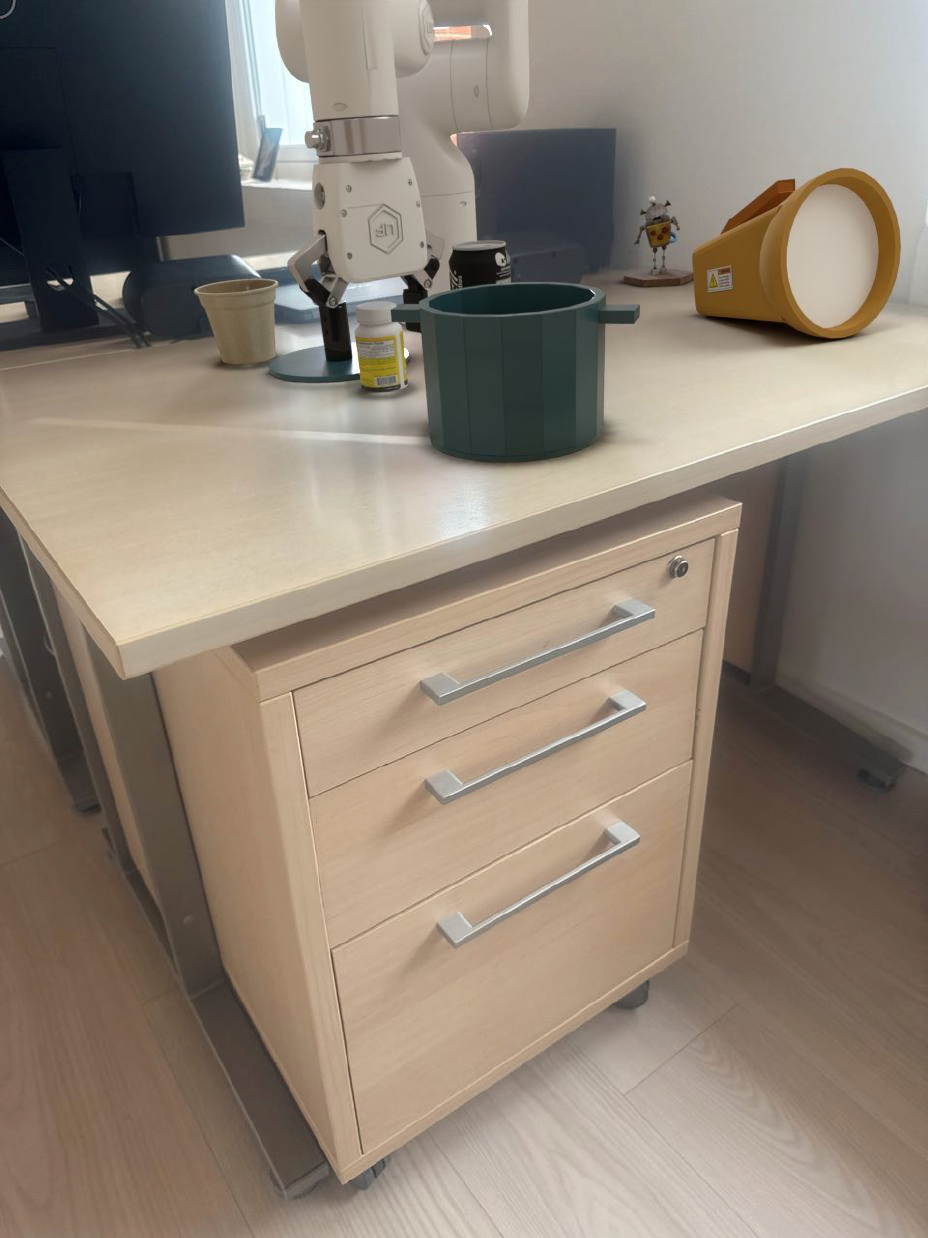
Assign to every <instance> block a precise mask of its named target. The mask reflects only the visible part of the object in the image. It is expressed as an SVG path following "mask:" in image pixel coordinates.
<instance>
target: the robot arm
mask: <svg viewBox="0 0 928 1238" xmlns="http://www.w3.org/2000/svg"><path fill="white" fill-rule="evenodd" d="M274 22H275V23H274V24H275V37H276V42H277V47H278V52H279V55H280V58H281V60H282V62H283V64H284V67H285V68H286V69H287V71H288V72H289V74H290V75H291V76H293V78H295V79H296V80H298V81H299V82H302V83H305V84H308V86H309V95H310V102H311V103H310V104H311V111H312V117H313V122H312V127H313V129H312V130H306V131H305V133H304V144H305V146H306V148H307V149H314V150H315V152H316V156H317V157H318V163H313V168H312V182H311V215H312V216H311V218H312V219H311V220H312V235H313V237H312V239H310V240H309V241H308V242H307V243H306V244H304V246H302V247H301V248H300V249H299V250H298V251H297V252H295V253H294V255H292V256H291V257H289V259H288V260H287V268H288V270H289V272H290V273H291V275H292V276H293V278H294V280H295V282H296V283H298V287H299V289H300V291H301V292H302V293H303V294H304V295H306V296H307V297H308V298H309V299H310V300H311V301H312V304H313V305H314V306H317V307H318V312H319V311H320V313H319V319H320V318H321V321H320V327H321V326H322V328H321V335H322V334H323V335H322V339H323V338H324V340H325V342H326V346H327V348H328V349H332V350H337V351H341V352H344V351H348V350H349V348H350V344H349V336H348V327H347V319H346V311H345V308H344V307H341V306H339V302H340V300H342V298H343V296H344V294H345V292H346V290H347V288H348V286H349V284H364V283H370V282H371V283H372V282H376V281H383V280H388V279H393V278H398V277H399V278H400V279H401V280H402V281H403V282H404V284H405V285H406V286H407V288H403V289H402V291H403V292H402V301H403V304H419V301H421V300H423V299H425V298H427V297H429V296H431V295H433V294H437V293H441V292H445V291H449V290H450V276H449V259H450V257H451V254H452V252H453V249H452V245H454V244H457V243H462V242H470V241H478V231H477V211H476V192H475V191H476V190H475V189H476V186H475V176H474V172H473V169H472V166H471V163H470V162H469V160H468V159H467V158H466V156H465V155H464V154H463V152H462V151H461V150H460V149H459V148H458V146H457V145H456V143H455V142H454V141H453V140H452V137H451V136H453V135H458V134H463V133H475V132H489V131H490V132H492V131H501V130H509V129H513V128H516V127H517V126H520V124H521V123H522V122H523V121H525V118H526V116H527V113H528V109H529V104H530V103H529V102H530V34H529V33H530V32H529V29H530V28H529V27H530V26H529V25H530V24H529V0H275V1H274ZM473 26H483V27H486V29H488V31H489V36H483V37H472V38H459V39H455V38H454V39H442V40H441V39H440V40H435V39H436V38H435V37H436V29H438V30H439V29H449V28H450V29H451V28H461V27H473ZM315 262H316V265H317V270H318V273H319V275H320V277H321V278H320V280H317V279H315V277H314V274H313V272H312V269H311V268H312V265H313V264H314V263H315ZM399 324H401V325H402V324H403V325H404V326H405V329H406V330H407V331H408V332H412V333H419V334H421V324H420V322H399Z"/></svg>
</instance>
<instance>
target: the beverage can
mask: <svg viewBox="0 0 928 1238" xmlns="http://www.w3.org/2000/svg"><path fill="white" fill-rule="evenodd" d="M506 245H507V243H506V241H504V240H498V239H497V240H494V239H493V240H491V239H487V240H484V239H483V240H477V241H470V242H462V243H457V244H454V245H452V249H453V252H452V254H451V257H450V259H449V276H450V290H453V289H459V288H466V287H473V286H480V285H488V284H502V283H512V272H511V269H512V268H511V256H510V254H509V253H508V251H507V248H506Z"/></svg>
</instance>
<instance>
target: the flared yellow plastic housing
mask: <svg viewBox="0 0 928 1238" xmlns="http://www.w3.org/2000/svg"><path fill="white" fill-rule="evenodd" d="M897 215H898V214H897V213H896V210H895V206H894V205H893V201H892V200H891V198H890V197H889V195H888V193H887V192H886V190H885V188H884V187H883V186H882V185H881V184H880V183H879V181H877V179H875V178H874V177H872V176H871V175H869V174H868V173H866V172H865V171H861V170H859V169H856V168H851V167H850V168H849V167H839V168H835V169H831V170H828V171H825V172H823V173H821V174H818V175H816V176H815V177H813V178H811V179H809V180H807V181H806V182H805V183H803V184H802V185H800V186H799V187H798V188H797V189H796V178H788V179H779V180H776V181H775V182H774V183H772V184H771V185H770V186H769V187H768V188H766V189H765V190H764V191H762V193H760V194H759V195H758V196H756V198H754V199H753V200H752V201H750V202H749V203H748V204H747V205H745V207H743V208H742V209H741V210H739V212H737V213H735V214H734V215H733V216H732V217H730V218H728V220H727V221H726V223H725V225H724V227H723V229H722V230H721V232H720V233H719V235H717V236H715V237H713V238H711V239H708V240H706V241H705V242H703V243H701V244H699V245H697V246H696V247H695V248H694V249H693V251H692V256H691V263H692V272H693V278H694V279H693V291H694V293H693V294H694V304H695V305H694V306H695V310H696V312H697V313H698V314H699V315H701V316H707V317H719V318H731V319H743V320H753V321H764V322H774V323H785V324H787V325H789V326H790V327H792V328H793V329H794V330H796V331H798V332H801V333H803V334H806V335H808V336H811V337H816V338H822V339H823V338H824V339H843V338H847V337H850V336H853V335H856V334H857V333H859V332H861V331H863V330H865V329H866V328H867V327H868V326H869V325H870V324H872V322H874V321H875V319H877V317H878V316H879V315H880V313H881V312H882V311H883V309H884V308H885V306H886V304H887V303H888V301H889V299H890V297H891V296H892V295H891V294H892V293H893V290H894V287H895V284H896V281H897V279H898V273H899V268H900V264H901V254H902V253H901V251H902V242H901V229H900V224H899V220H898V216H897Z"/></svg>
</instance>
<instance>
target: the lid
mask: <svg viewBox="0 0 928 1238" xmlns="http://www.w3.org/2000/svg"><path fill="white" fill-rule="evenodd" d="M339 306H341V307H344V308H345V311H346V319H347V327H348V336H349V344H350V348H349V350H348V351H344V352H341V351H337V350H332V349H328V348H327V346H326V342H325V340H324V338H323V337H322V342H323V345H319V346H313V347H307V348H302V349H298V350H295V351H292V352H288V353H286V354H283V355H281V356H278V357H276V358H273V360H272V361H270V363H269V364H268V369H269V373H270V375H271V376H273V377H274V378H276V379H280V380H284V381H289V382H297V383H332V382H333V383H335V382H344V381H353V380H361V379H360V372H359V364H358V356H357V348H356V342H352V341H351V331H350V322H349V315H348V308H347V307H348V305H347V300H345V299H341V300H340V302H339ZM318 312H319V314H320V311H319V310H318ZM319 320H320V322H321V318H320V317H319ZM320 327H321V329H322V326H321V325H320ZM321 335H322V336H323V334H322V333H321ZM404 349H405V359H406V364H408V362H409V361H410V352H409V351H408V350H407V348H404Z"/></svg>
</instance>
